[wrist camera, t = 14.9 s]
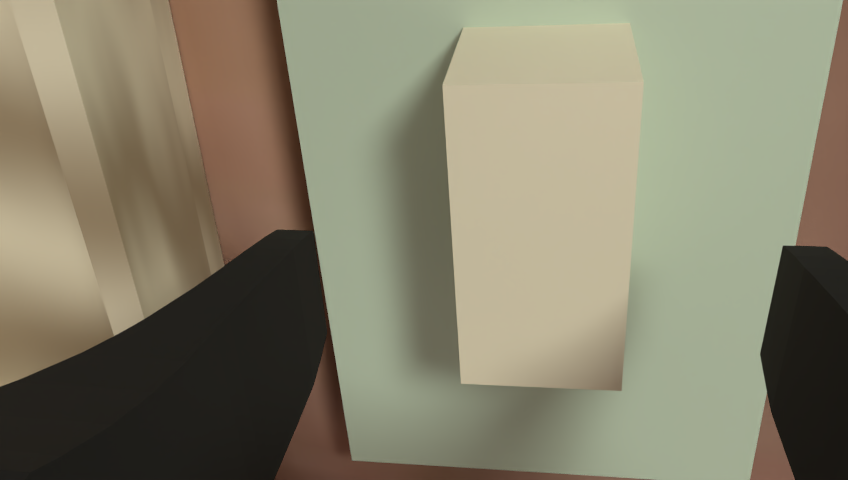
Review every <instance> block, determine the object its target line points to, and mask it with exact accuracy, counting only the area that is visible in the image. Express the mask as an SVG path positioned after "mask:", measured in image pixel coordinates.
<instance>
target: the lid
mask: <svg viewBox="0 0 848 480" xmlns="http://www.w3.org/2000/svg"><path fill="white" fill-rule="evenodd" d="M842 3H843V0H277V5H278V11H279V17H280V23H281V30H282V36H283V42H284V48H285V54H286V60H287V66H288V72H289V78H290V85H291V91H292V97H293V103H294V109H295V115H296V121H297V127H298V133H299V140H300V146H301V152H302V158H303V164H304V170H305V176H306V182H307V188H308V195H309V201H310V207H311V213H312V219H313V225H314V231H315V237H316V243H317V250H318V256H319V262H320V268H321V274H322V280H323V286H324V292H325V298H326V305H327V311H328V317H329V323H330V329H331V335H332V341H333V347H334V353H335V360H336V366H337V372H338V378H339V384H340V390H341V396H342V402H343V408H344V415H345V421H346V427H347V433H348V439H349V445H350V451H351V457H352V461H367V462H383V463H399V464H415V465H431V466H447V467H463V468H479V469H495V470H511V471H527V472H543V473H559V474H575V475H591V476H607V477H623V478H639V479H655V480H750V476H751V471H752V466H753V461H754V455H755V450H756V445H757V440H758V435H759V430H760V425H761V419H762V414H763V409H764V404H765V399H766V394H767V389H766V384H765V379H764V373H763V368H762V363H761V357H760V352H761V347H762V342H763V337H764V333H765V328H766V323H767V318H768V314H769V309H770V304H771V300H772V295H773V290H774V285H775V281H776V276H777V271H778V266H779V262H780V257H781V252H782V248H783V245H784V246H795V244H796V239H797V234H798V229H799V224H800V219H801V214H802V208H803V203H804V198H805V193H806V188H807V183H808V178H809V172H810V167H811V162H812V157H813V152H814V147H815V142H816V136H817V131H818V126H819V121H820V116H821V111H822V106H823V100H824V95H825V90H826V85H827V80H828V75H829V70H830V64H831V59H832V54H833V49H834V44H835V39H836V34H837V28H838V23H839V18H840V13H841V8H842Z"/></svg>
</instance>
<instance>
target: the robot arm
mask: <svg viewBox="0 0 848 480" xmlns="http://www.w3.org/2000/svg"><path fill="white" fill-rule="evenodd" d="M326 335H327V328H326V321H325V313H324V306H323V299H322V292H321V284H320V277H319V270H318V262H317V255H316V248H315V241H314V233H313V231H301V230H276V231H274V232H272V233H271V234H269V235H268V236H266V237H264V238H263V239H262V240H260V241H259V242H257V243H256V244H254V245H253V246H251V247H250V248H249V249H247V250H246V251H244V252H243V253H242V254H240V255H239V256H238V257H236V258H235V259H233V260H232V261H231V262H229V263H228V264H226V265H225V266H224V267H222V268H221V269H219V270H218V271H216V272H215V273H214V274H212V275H211V276H209V277H208V278H207V279H205V280H204V281H202V282H201V283H199V284H198V285H197V286H195V287H194V288H192V289H191V290H189V291H188V292H186V293H184V294H183V295H181V296H180V297H178V298H177V299H175V300H173V301H172V302H170V303H169V304H167V305H166V306H164V307H163V308H161V309H159V310H158V311H156V312H155V313H153V314H152V315H150V316H148V317H147V318H145V319H143V320H142V321H140V322H138V323H137V324H135V325H133V326H131V327H130V328H128V329H126V330H124V331H122V332H121V333H119V334H117V335H115V336H113V337H111V338H109V339H107V340H105V341H103V342H101V343H100V344H98V345H96V346H94V347H92V348H90V349H88V350H86V351H84V352H82V353H79V354H77V355H75V356H73V357H70V358H68V359H66V360H63V361H61V362H59V363H57V364H54V365H52V366H50V367H47V368H45V369H43V370H40V371H38V372H36V373H33V374H31V375H29V376H26V377H24V378H22V379H19V380H17V381H14V382H11V383H9V384H6V385H3V386H1V387H0V480H274V478H275V476H276V474H277V471H278V469H279V467H280V464H281V462H282V460H283V457H284V455H285V452H286V450H287V448H288V445H289V443H290V441H291V438H292V436H293V434H294V431H295V429H296V427H297V424H298V422H299V419H300V417H301V414H302V412H303V410H304V407H305V405H306V402H307V400H308V398H309V395H310V393H311V390H312V387H313V385H314V382H315V378H316V374H317V371H318V367H319V364H320V360H321V356H322V352H323V347H324V343H325V339H326ZM760 357H761V363H762V368H763V373H764V379H765V384H766V389H767V394H768V399H769V403H770V408H771V412H772V415H773V418H774V421H775V424H776V427H777V430H778V433H779V436H780V438H781V441H782V444H783V447H784V450H785V453H786V455H787V458H788V461H789V464H790V466H791V469H792V472H793V475H794V478H795V480H848V261H847V260H845V259H844V258H843V257H841V256H840V255H838V254H837V253H836V252H834V251H832V250H831V249H829V248H828V247H816V246H784V245H783V248H782V252H781V257H780V262H779V266H778V271H777V276H776V281H775V285H774V290H773V295H772V300H771V304H770V309H769V314H768V318H767V323H766V328H765V333H764V337H763V342H762V347H761V352H760Z"/></svg>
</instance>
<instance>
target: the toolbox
mask: <svg viewBox="0 0 848 480" xmlns="http://www.w3.org/2000/svg"><path fill="white" fill-rule="evenodd" d="M222 267H224V261H223V256H222V252H221V247H220V242H219V237H218V233H217V228H216V223H215V218H214V214H213V209H212V204H211V200H210V195H209V190H208V185H207V181H206V176H205V171H204V166H203V162H202V157H201V152H200V147H199V143H198V138H197V133H196V129H195V124H194V119H193V114H192V110H191V105H190V100H189V95H188V91H187V86H186V81H185V77H184V72H183V67H182V62H181V58H180V53H179V48H178V43H177V39H176V34H175V29H174V25H173V20H172V15H171V10H170V6H169V1H168V0H0V387H1V386H3V385H6V384H9V383H11V382H14V381H17V380H19V379H22V378H24V377H26V376H29V375H31V374H33V373H36V372H38V371H40V370H43V369H45V368H47V367H50V366H52V365H54V364H57V363H59V362H61V361H63V360H66V359H68V358H70V357H73V356H75V355H77V354H79V353H82V352H84V351H86V350H88V349H90V348H92V347H94V346H96V345H98V344H100V343H101V342H103V341H105V340H107V339H109V338H111V337H113V336H115V335H117V334H119V333H121V332H122V331H124V330H126V329H128V328H130V327H131V326H133V325H135V324H137V323H138V322H140V321H142V320H143V319H145V318H147V317H148V316H150V315H152V314H153V313H155V312H156V311H158V310H159V309H161V308H163V307H164V306H166V305H167V304H169V303H170V302H172V301H173V300H175V299H177V298H178V297H180V296H181V295H183V294H184V293H186V292H188V291H189V290H191V289H192V288H194V287H195V286H197V285H198V284H199V283H201V282H202V281H204V280H205V279H207V278H208V277H209V276H211V275H212V274H214V273H215V272H216V271H218V270H219V269H221V268H222Z"/></svg>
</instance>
